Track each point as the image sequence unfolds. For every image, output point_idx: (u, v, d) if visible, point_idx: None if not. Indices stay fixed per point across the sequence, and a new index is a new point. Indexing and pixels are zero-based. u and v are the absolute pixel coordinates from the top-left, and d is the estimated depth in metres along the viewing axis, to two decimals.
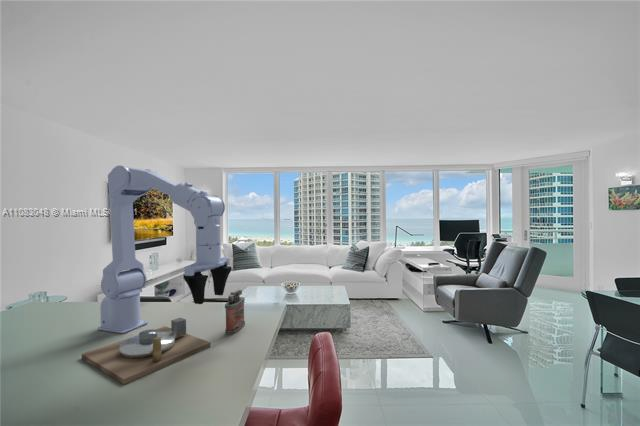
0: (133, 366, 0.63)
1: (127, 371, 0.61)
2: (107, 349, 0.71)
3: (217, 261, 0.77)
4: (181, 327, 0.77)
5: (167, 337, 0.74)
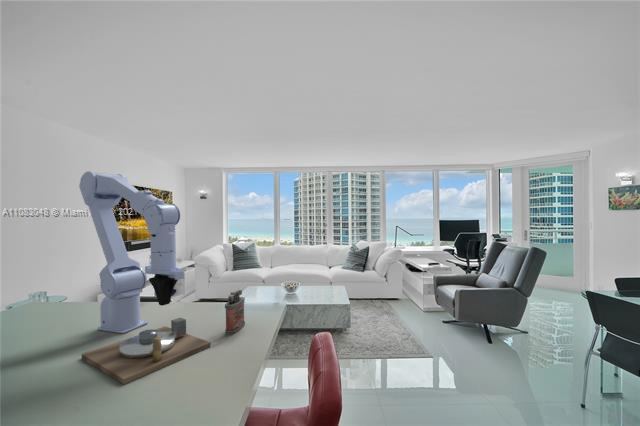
0: (133, 366, 0.63)
1: (127, 371, 0.61)
2: (107, 349, 0.71)
3: (152, 268, 0.78)
4: (181, 327, 0.77)
5: (167, 337, 0.74)
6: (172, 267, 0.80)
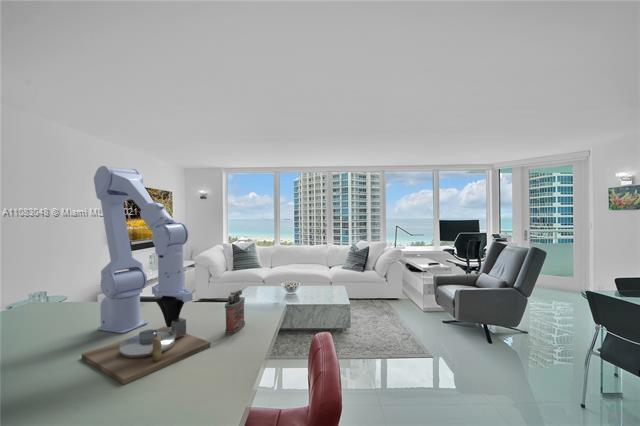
0: (133, 366, 0.63)
1: (127, 371, 0.61)
2: (107, 349, 0.71)
3: (159, 290, 0.77)
4: (181, 327, 0.77)
5: (167, 337, 0.74)
6: (180, 288, 0.78)
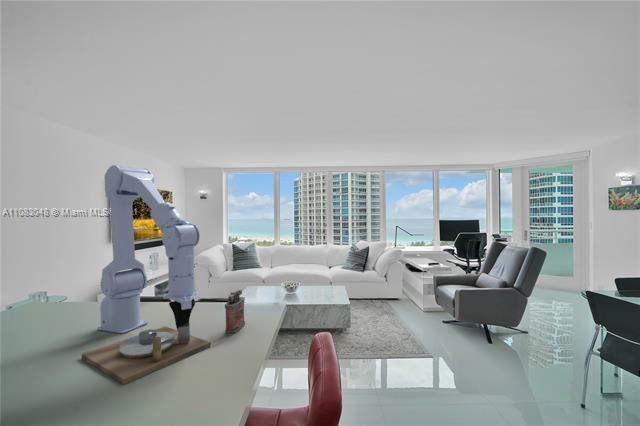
0: (133, 366, 0.63)
1: (127, 371, 0.61)
2: (107, 349, 0.71)
3: (169, 292, 0.74)
4: (183, 333, 0.73)
5: (164, 341, 0.71)
6: (186, 293, 0.74)
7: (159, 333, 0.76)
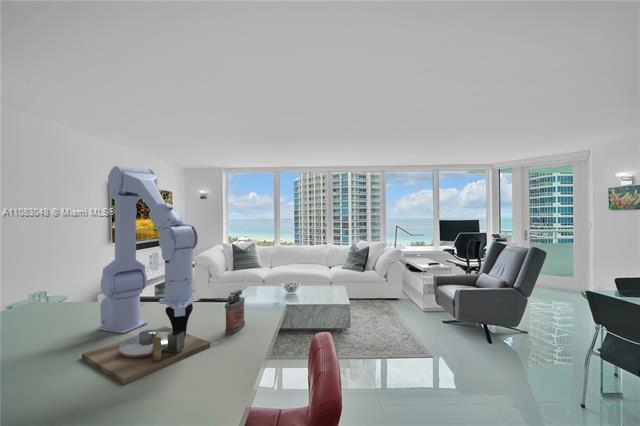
0: (133, 366, 0.63)
1: (127, 371, 0.61)
2: (107, 349, 0.71)
3: None
4: (172, 342, 0.68)
5: None
6: (182, 298, 0.69)
7: (168, 335, 0.75)
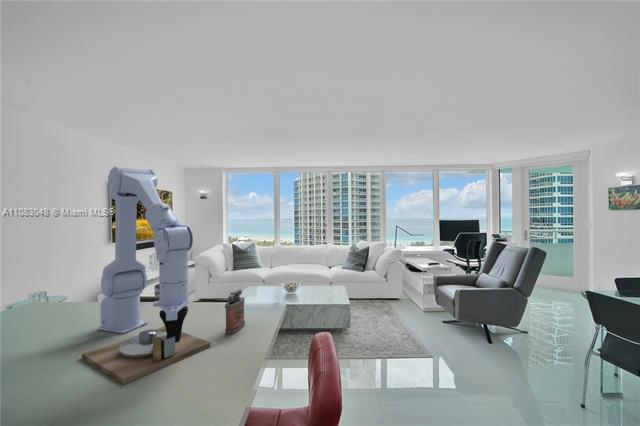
0: (133, 366, 0.63)
1: (127, 371, 0.61)
2: (107, 349, 0.71)
3: None
4: (161, 346, 0.66)
5: (148, 347, 0.68)
6: (176, 302, 0.67)
7: None
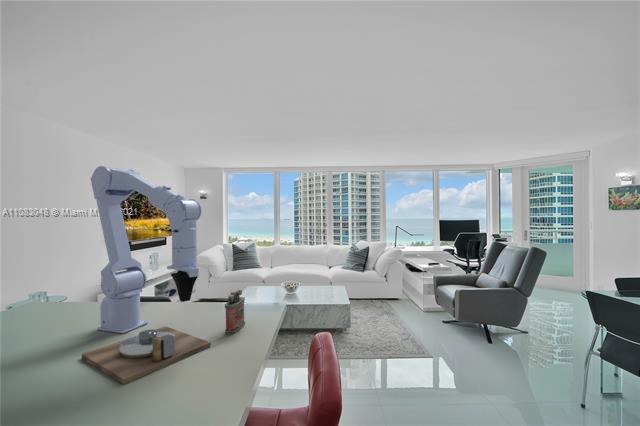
0: (133, 366, 0.63)
1: (127, 371, 0.61)
2: (107, 349, 0.71)
3: (172, 264, 0.78)
4: None
5: (148, 347, 0.68)
6: (191, 264, 0.78)
7: None
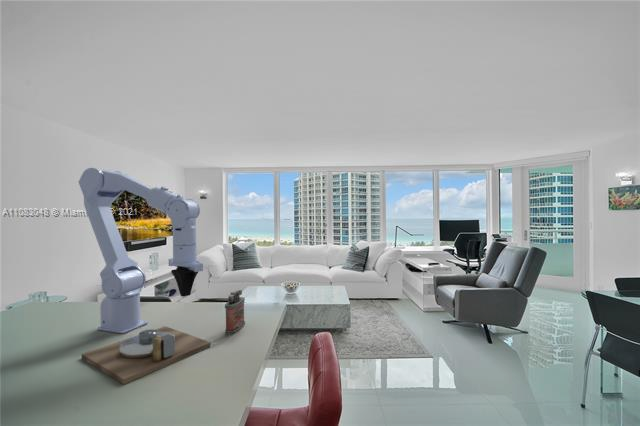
0: (133, 366, 0.63)
1: (127, 371, 0.61)
2: (107, 349, 0.71)
3: (174, 261, 0.82)
4: None
5: (148, 347, 0.68)
6: (192, 260, 0.83)
7: None
